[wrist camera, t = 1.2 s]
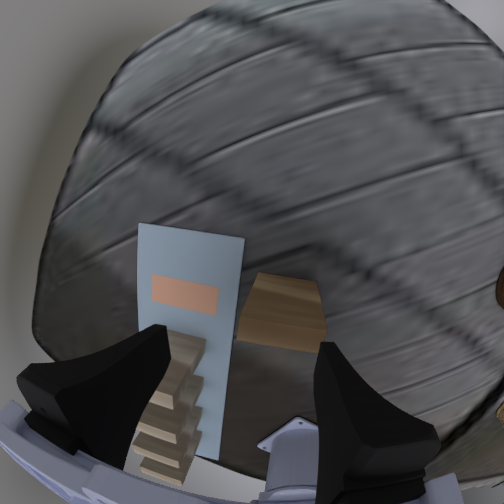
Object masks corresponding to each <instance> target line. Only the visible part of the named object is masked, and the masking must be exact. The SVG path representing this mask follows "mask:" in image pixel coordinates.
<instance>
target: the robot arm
mask: <svg viewBox="0 0 504 504" xmlns="http://www.w3.org/2000/svg"><path fill="white" fill-rule="evenodd" d="M170 361H171V352H170V346H169V340H168V333H167V326H166V325H160V324H153V325H151V326H149V327H147V328H145V329H144V330H142V331H140V332H138V333H136V334H134V335H132V336H131V337H129V338H127V339H125V340H123V341H121V342H119V343H117V344H115V345H113V346H110V347H108V348H106V349H104V350H101V351H99V352H96V353H93V354H90V355H87V356H83V357H79V358H75V359H72V360H66V361H60V362H53V363H31V364H30V365H29V366H28V367H27V368H26V369H25V370H23V371H22V372H21V373H20V374H19V375H18V376H17V384H18V387H19V389H20V391H21V393H22V394H23V396H24V397H25V399H26V401H27V403H28V404H29V406H30V407H31V409H32V411H30V413H28V412H27V411H26V410H25V409H24V408H23V407H22V406H20V405H19V404H18V403H17V402H15V401H14V400H10V401H9V402H8V403H7V404H6V405H5V407H3V409H2V410H1V411H0V445H1V446H2V447H3V448H4V450H5V451H6V452H7V453H8V454H9V455H10V456H11V457H12V458H13V459H14V460H15V461H16V462H17V463H18V464H20V465H21V466H22V467H23V468H24V469H25V470H27V471H28V472H29V473H30V474H32V475H33V476H34V477H35V478H37V479H38V480H39V481H40V482H42V483H43V484H44V485H46V486H47V487H48V488H49V489H51V490H52V491H53V492H55V493H56V494H58V495H59V496H61V497H62V498H63V499H65V500H66V501H68V502H70V504H464V502H463V498H462V495H461V491H460V488H459V485H458V482H457V479H456V475H455V473H450V474H447V475H444V476H441V477H438V478H435V479H432V480H430V481H428V482H426V483H425V484H424V482H423V477H425V475H426V473H425V469H424V467H425V466H426V465H427V464H428V463H429V462H430V461H431V460H432V459H433V458H434V457H435V455H436V454H437V453H438V451H439V450H440V447H441V443H440V440H439V437H438V435H437V432H436V430H435V428H434V426H433V425H432V424H429V423H427V422H425V421H422V420H420V419H418V418H415V417H413V416H411V415H410V414H408V413H406V412H404V411H402V410H401V409H399V408H397V407H396V406H394V405H393V404H391V403H390V402H389V401H387V400H386V399H384V398H383V397H382V396H381V395H379V394H378V393H377V392H376V391H375V390H374V389H373V388H371V387H370V386H369V385H368V384H367V383H366V382H365V381H364V380H363V379H362V378H361V376H360V375H359V374H358V373H357V372H356V371H355V369H354V368H353V367H352V366H351V364H350V363H349V362H348V361H347V359H346V358H345V357H344V355H343V354H342V352H341V351H340V350H339V348H338V347H337V345H336V344H335V343H334V342H320V347H319V352H318V357H317V362H316V366H315V371H314V399H315V407H316V415H317V423H318V425H315V424H313V423H311V422H309V421H307V420H305V419H303V418H301V417H295V418H294V419H292V420H291V421H290V422H288V423H287V424H286V425H284V426H283V427H281V428H280V429H279V430H277V431H276V432H274V433H273V434H272V435H270V436H269V437H267V438H266V439H264V440H263V441H261V442H260V443H258V448H260V449H263V450H265V451H267V452H270V460H269V466H268V473H267V480H266V486H265V492H262V493H261V492H260V494H259V500H252V501H251V502H250V503H242V502H235V501H228V500H222V499H217V498H211V497H206V496H202V495H197V494H193V493H188V492H185V491H181V490H177V489H174V488H170V487H167V486H164V485H160V484H157V483H154V482H151V481H148V480H145V479H143V478H140V477H137V476H135V475H132V474H129V473H127V472H124V471H123V468H124V465H125V461H126V457H127V454H128V450H129V447H130V444H131V441H132V438H133V436H134V433H135V430H136V428H137V425H138V423H139V421H140V418H141V416H142V413H143V411H144V410H145V408H146V406H147V404H148V402H149V401H150V399H151V397H152V396H153V394H154V392H155V391H156V389H157V387H158V386H159V384H160V382H161V381H162V379H163V377H164V375H165V373H166V371H167V369H168V366H169V364H170Z"/></svg>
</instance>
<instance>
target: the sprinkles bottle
mask: <svg viewBox="0 0 504 504" xmlns="http://www.w3.org/2000/svg"><path fill="white" fill-rule="evenodd" d="M496 416H497V417H498V418H499V420H500V421H501V423H502V424H503V426H504V402H503V404H502V405H501V406H500V407H499V409H498V410H497V413H496Z"/></svg>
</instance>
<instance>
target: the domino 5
mask: <svg viewBox="0 0 504 504" xmlns="http://www.w3.org/2000/svg"><path fill="white" fill-rule="evenodd" d="M327 331H328V330H327V325H326V321H325V316H324V312H323V308H322V303H321V299H320V295H319V291H318V286H317V282H316V281H310V280H303V279H297V278H291V277H285V276H279V275H273V274H267V273H261V272H258V275H257V277H256V279H255V282H254V284H253V286H252V289H251V291H250V293H249V296H248V298H247V300H246V303H245V305H244V307H243V310H242V312H241V314H240V317H239V325H238V333H237V340H239V341H245V342H250V343H255V344H261V345H266V346H272V347H278V348H285V349H291V350H298V351H305V352H312V353H318V352H319V347H320V342H324V341H325V338H326V334H327Z"/></svg>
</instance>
